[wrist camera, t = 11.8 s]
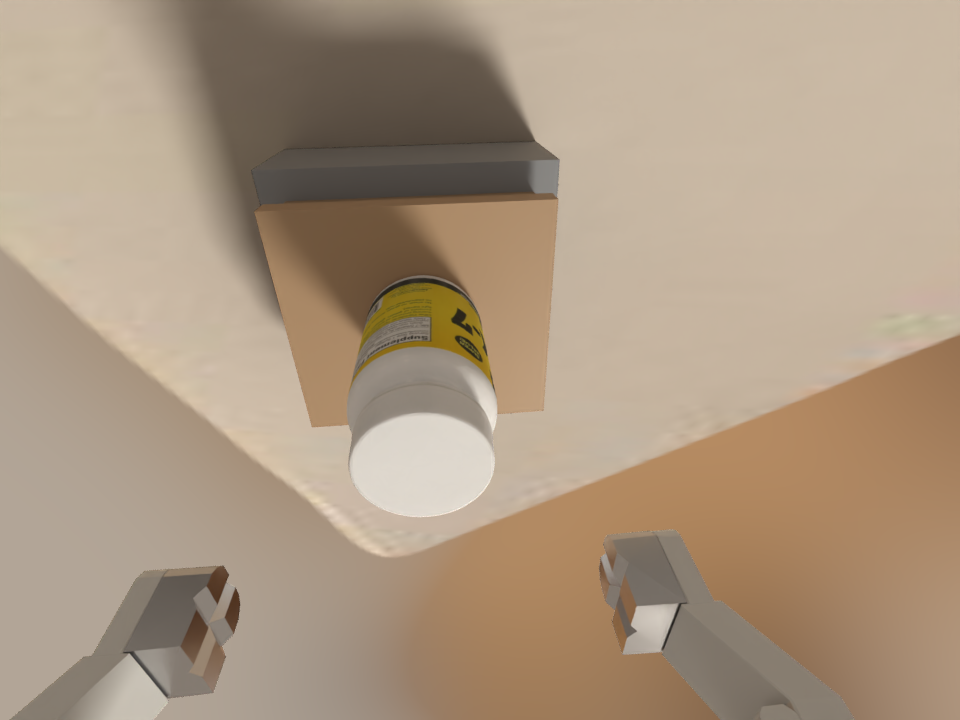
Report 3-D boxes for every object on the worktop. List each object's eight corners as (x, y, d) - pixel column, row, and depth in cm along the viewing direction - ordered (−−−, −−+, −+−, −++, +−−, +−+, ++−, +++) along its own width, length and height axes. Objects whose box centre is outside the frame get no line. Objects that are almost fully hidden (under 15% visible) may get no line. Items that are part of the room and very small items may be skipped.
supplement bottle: (494, 353, 21) (527, 503, 14) (394, 384, 21) (378, 546, 14) (459, 254, 18) (479, 377, 11) (346, 293, 19) (298, 434, 12)
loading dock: (535, 141, 23) (573, 170, 17) (526, 350, 30) (552, 425, 24) (284, 149, 22) (231, 183, 16) (331, 363, 29) (305, 444, 23)
